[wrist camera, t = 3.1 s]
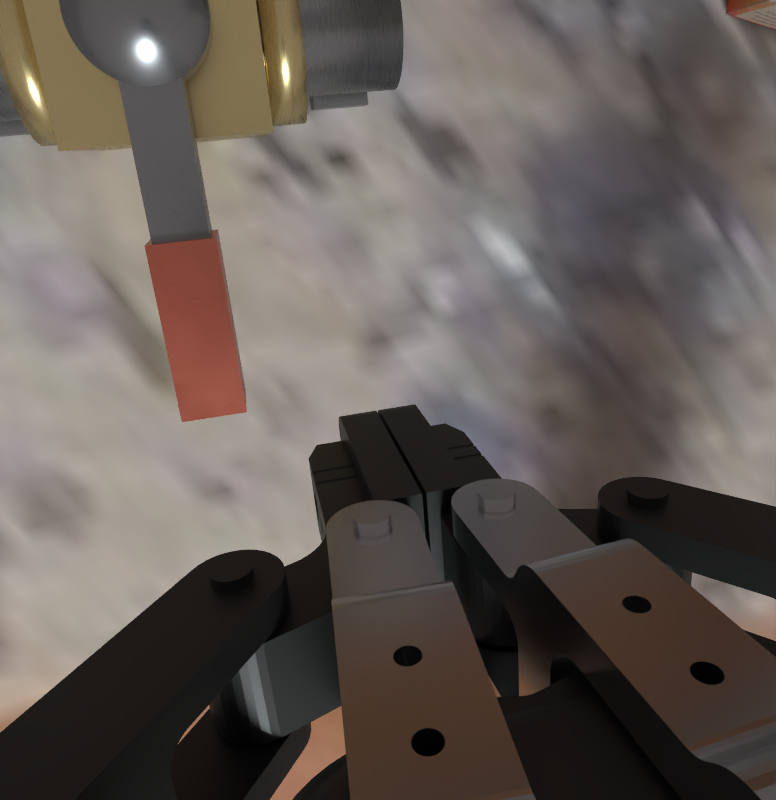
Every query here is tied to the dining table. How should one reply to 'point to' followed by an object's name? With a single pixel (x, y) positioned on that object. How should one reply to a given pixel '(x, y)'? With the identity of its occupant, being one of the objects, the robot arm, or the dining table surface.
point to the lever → (170, 185)
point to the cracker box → (754, 11)
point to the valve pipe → (203, 70)
